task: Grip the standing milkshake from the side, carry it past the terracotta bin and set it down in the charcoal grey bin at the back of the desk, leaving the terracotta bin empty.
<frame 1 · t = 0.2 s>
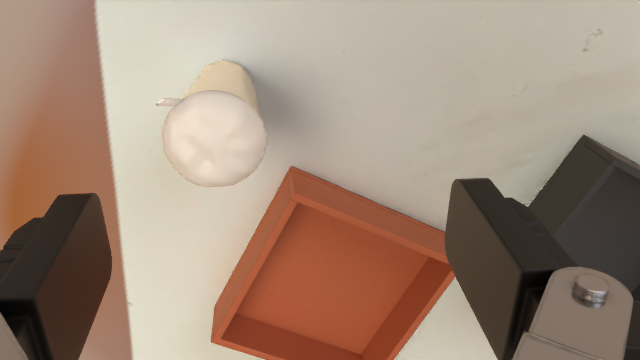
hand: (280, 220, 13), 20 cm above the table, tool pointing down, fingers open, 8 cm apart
milkshake: (220, 81, 31), on the table
grey bin: (592, 239, 39), on the table
terracotta bin: (329, 270, 38), on the table
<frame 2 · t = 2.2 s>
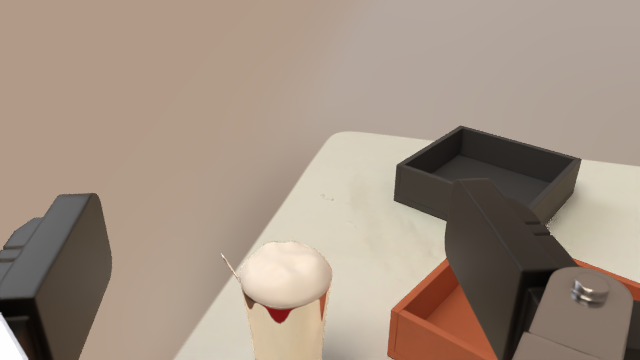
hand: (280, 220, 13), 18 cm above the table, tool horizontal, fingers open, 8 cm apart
grey bin: (484, 196, 50), on the table
terracotta bin: (522, 347, 34), on the table
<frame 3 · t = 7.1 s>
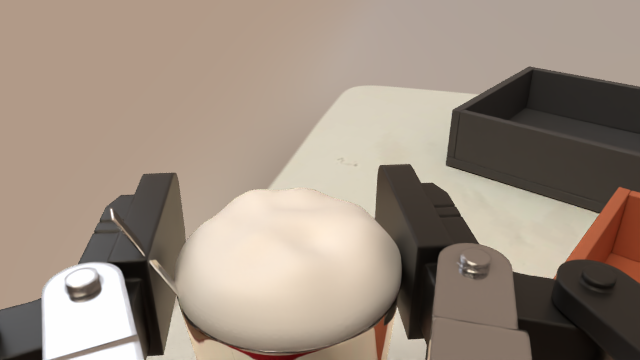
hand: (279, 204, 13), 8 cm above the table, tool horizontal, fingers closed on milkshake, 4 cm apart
grey bin: (576, 159, 34), on the table
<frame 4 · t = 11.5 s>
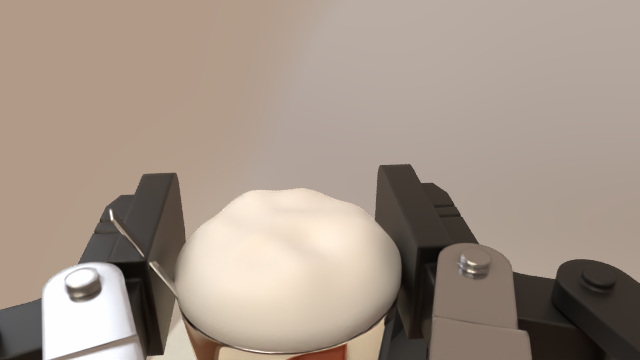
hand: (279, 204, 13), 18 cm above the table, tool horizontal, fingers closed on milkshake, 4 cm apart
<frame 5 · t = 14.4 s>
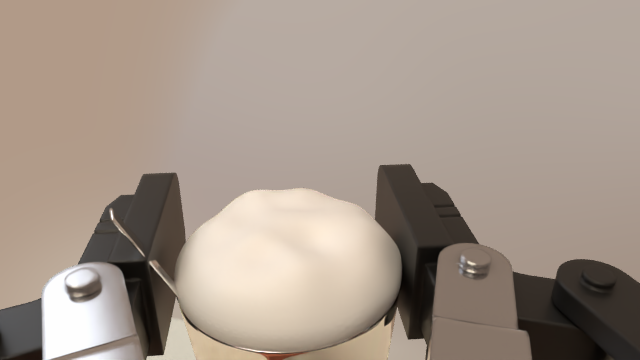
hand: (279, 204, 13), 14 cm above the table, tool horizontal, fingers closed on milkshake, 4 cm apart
when the fingers open (9 cm above the table, at t = 16.4 s): milkshake stays where it is, resting on grey bin.
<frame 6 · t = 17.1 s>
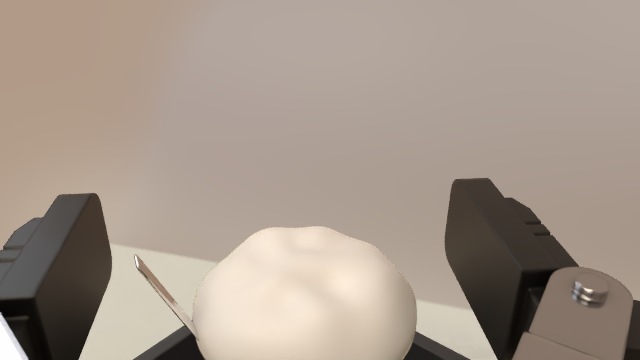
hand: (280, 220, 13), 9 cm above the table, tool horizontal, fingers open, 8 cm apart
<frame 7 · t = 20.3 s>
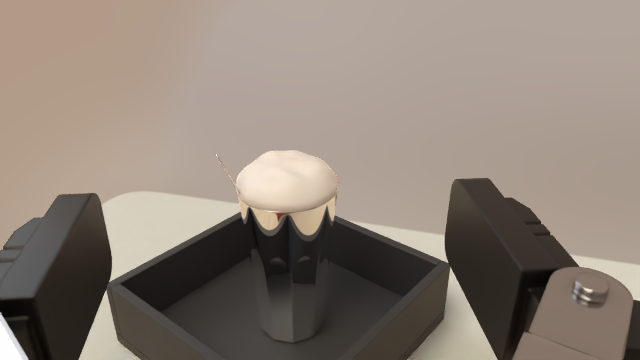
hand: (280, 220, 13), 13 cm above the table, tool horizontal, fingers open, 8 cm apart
milkshake: (284, 326, 28), resting on grey bin
grey bin: (284, 329, 29), on the table
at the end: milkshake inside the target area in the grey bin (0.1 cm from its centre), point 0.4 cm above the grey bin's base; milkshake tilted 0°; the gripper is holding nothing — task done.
